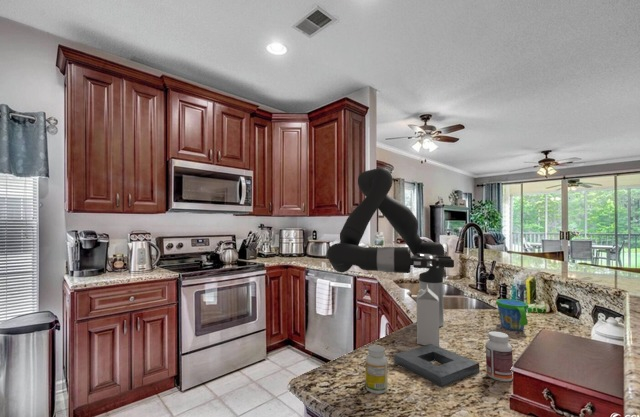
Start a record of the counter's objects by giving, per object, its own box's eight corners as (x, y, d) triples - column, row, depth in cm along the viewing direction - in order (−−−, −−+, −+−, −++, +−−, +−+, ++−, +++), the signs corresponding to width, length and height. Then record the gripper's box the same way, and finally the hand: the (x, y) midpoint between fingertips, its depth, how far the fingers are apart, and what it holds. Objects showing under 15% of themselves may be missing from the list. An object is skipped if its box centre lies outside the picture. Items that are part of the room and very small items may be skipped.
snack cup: (538, 336, 114) (537, 307, 114) (507, 334, 115) (506, 306, 116) (517, 323, 129) (516, 298, 130) (490, 321, 131) (489, 297, 131)
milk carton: (438, 340, 109) (437, 285, 110) (439, 347, 102) (438, 288, 103) (417, 337, 111) (416, 283, 112) (416, 344, 104) (416, 287, 106)
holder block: (394, 363, 90) (394, 354, 90) (430, 351, 98) (430, 343, 99) (441, 387, 76) (441, 377, 77) (479, 372, 85) (479, 362, 85)
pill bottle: (518, 378, 81) (516, 335, 82) (505, 384, 78) (504, 340, 79) (493, 369, 87) (492, 329, 87) (481, 374, 83) (480, 332, 84)
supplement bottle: (380, 396, 72) (380, 354, 73) (361, 389, 76) (361, 348, 76) (391, 387, 76) (391, 347, 77) (372, 380, 80) (372, 342, 80)
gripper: (391, 248, 86) (454, 250, 81) (395, 245, 100) (450, 246, 94) (391, 276, 86) (455, 279, 81) (395, 269, 99) (450, 271, 94)
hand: (452, 261), depth 88 cm, fingers open, 8 cm apart
